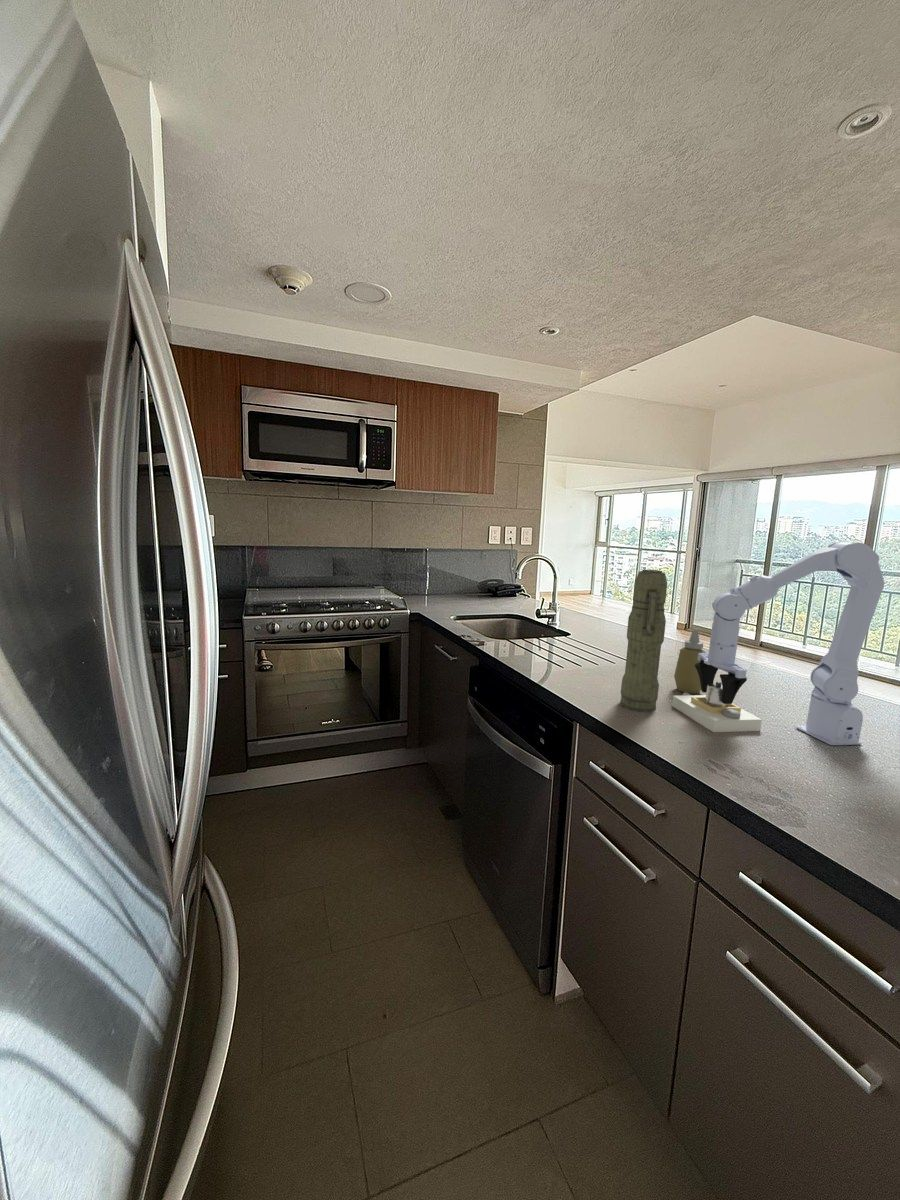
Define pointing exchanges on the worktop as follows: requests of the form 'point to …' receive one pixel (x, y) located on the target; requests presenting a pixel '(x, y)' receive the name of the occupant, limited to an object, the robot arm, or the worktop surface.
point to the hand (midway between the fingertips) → (716, 697)
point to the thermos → (644, 642)
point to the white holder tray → (716, 714)
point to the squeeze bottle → (689, 665)
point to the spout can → (714, 695)
